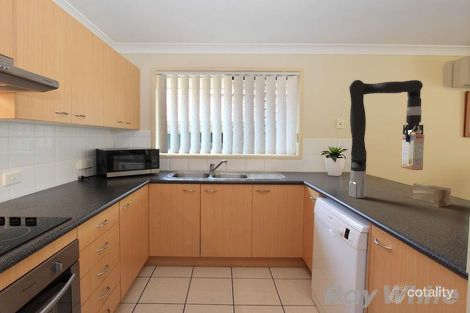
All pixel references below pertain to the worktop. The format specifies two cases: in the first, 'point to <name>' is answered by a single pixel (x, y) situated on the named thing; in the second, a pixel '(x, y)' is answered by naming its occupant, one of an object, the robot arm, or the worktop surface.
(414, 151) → the cracker box
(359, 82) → the robot arm
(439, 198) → the book rack
